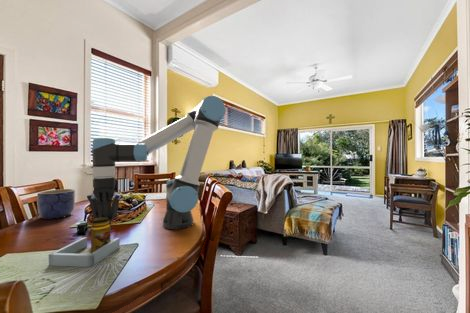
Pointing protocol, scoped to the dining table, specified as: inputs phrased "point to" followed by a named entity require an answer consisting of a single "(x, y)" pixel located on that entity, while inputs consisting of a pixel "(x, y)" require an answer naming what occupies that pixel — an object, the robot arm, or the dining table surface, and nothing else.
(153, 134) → the robot arm
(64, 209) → the planter
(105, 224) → the condiment
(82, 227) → the black angular block
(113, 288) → the dining table surface
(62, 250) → the bay
